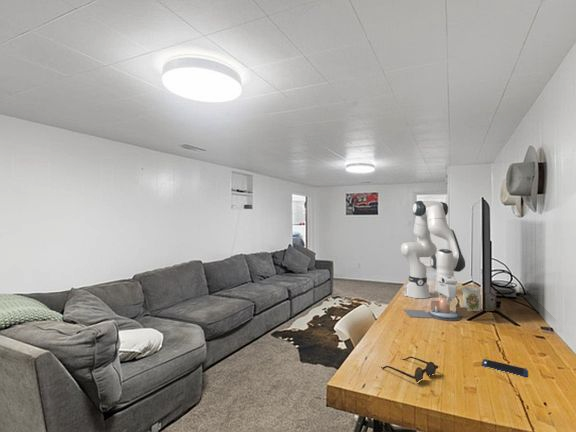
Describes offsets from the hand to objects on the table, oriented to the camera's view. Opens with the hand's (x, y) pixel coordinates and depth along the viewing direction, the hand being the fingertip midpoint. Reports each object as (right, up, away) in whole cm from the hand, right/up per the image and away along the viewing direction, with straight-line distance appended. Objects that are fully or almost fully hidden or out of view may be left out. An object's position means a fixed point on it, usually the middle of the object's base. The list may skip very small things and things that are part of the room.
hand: (444, 302), depth 183 cm
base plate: (0, -8, 0) cm, 8 cm away
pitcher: (+25, -9, +13) cm, 29 cm away
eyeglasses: (-46, -7, -67) cm, 82 cm away
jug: (-2, -6, 0) cm, 6 cm away
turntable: (+2, -7, 0) cm, 8 cm away
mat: (-14, -8, +4) cm, 16 cm away
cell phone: (-9, -8, -63) cm, 64 cm away
